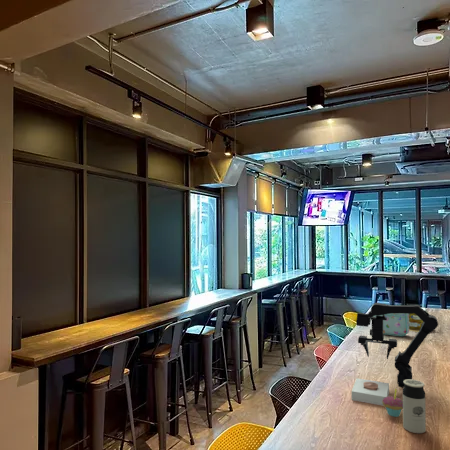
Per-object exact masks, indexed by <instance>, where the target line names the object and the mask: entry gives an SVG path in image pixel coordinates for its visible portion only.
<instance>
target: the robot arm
mask: <svg viewBox="0 0 450 450" xmlns="http://www.w3.org/2000/svg"><path fill="white" fill-rule="evenodd" d="M422 308H423V307H421V306H420V305H418V304H414V305H408V304H406V305H404V304H400V305H399V304H397V305H396V304H395V305H394V304H386V303H383V302H374V303H373V304H372V306H371V309H370V311H368V313H364V312H363V313H362V312H357V313H356V321H355V324H356V326H359V327H365V328H366V327H369V326H371V329H369V336H371V338H370V337H369V338H368V336H366V335H359V336H358V338H357V339H358V340H357V343H358V344H360V345H361V346H363V349H364V351H365V353H366V356H367V357H368V358H369V355H370V353H369V343H375V344H382V345H383V344H384V345H387V351H386V360H388V359H389V356H390V353H391V351H392V350H394V349H395V348H397V347H398V339H395V338H388V339H385V335H384V333H383V320H387V317H385V314H389V313H404V314H416V315H417V316H418V317H419V318H420V319H421V320H422V321H423V324H422V326H421V329H420V330H419V332H416V335H415V336H414V337H413V338H412V340H411V342H410V343H409V344H408V346H407V347H406V349H405V350H404V351H402V352H401V351H398V353H397V355H396V356H394V367H395V369H396V370H397V371H398V373H397V375H396V381H397V385H398V387H402V388H404V383H403V381H404V380H406V379H413V372H412V371H413V369H412V368H413V367H412V366H411V365H410V361H411V359H412V357H413V355H415V353H416V351H417V350H418V349H419V347H420V346H421V345H422V343H423V342H424V340H425V339H426V338H427V336H429V334H431V333H432V332H433V331H434V330H436V329H437V327H438V325H439V322H438V319H437V317H436V315H435V316H434V315H432V314H430V313H429V312H428V311H427V312H428V313H429V314H428V313H427V312H426V311H424V310H423V309H422ZM375 315H377V316H376V317H373V316H375ZM379 315H383V316H379ZM371 319H372V320H371Z"/></svg>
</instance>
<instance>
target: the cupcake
mask: <svg viewBox="0 0 450 450" xmlns="http://www.w3.org/2000/svg"><path fill="white" fill-rule="evenodd" d="M397 391H398V390H397V388H395V389H394V396H393V395H388V397H385V398H384V399H383V401H382V403H383V405H384V406H383V405H382V406H383V407H384V408H385V409H386V412H387V414H388V415H389V416H391V417H397V418H398V417H400V415H401V413H402V412H403V399H401V398H399V397H397Z"/></svg>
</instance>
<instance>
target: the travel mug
mask: <svg viewBox="0 0 450 450" xmlns="http://www.w3.org/2000/svg"><path fill="white" fill-rule="evenodd" d="M403 383H404V387H402V401H403V409H402V428H404V429H405V430H406V431H407V432H410V433H413V434H423V433H425V432H426V427H427V426H426V425H427V424H426V391H425V390H424V387H425V383H424V382H422V381H420V380H417V379H413V378H412V379H406V380H404V381H403Z"/></svg>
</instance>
